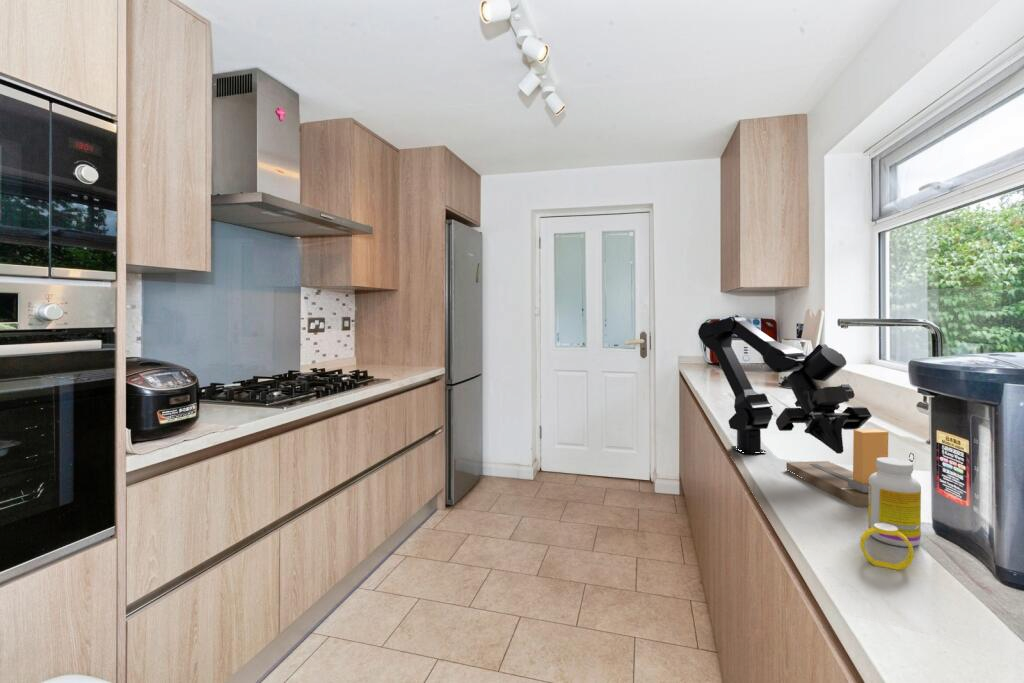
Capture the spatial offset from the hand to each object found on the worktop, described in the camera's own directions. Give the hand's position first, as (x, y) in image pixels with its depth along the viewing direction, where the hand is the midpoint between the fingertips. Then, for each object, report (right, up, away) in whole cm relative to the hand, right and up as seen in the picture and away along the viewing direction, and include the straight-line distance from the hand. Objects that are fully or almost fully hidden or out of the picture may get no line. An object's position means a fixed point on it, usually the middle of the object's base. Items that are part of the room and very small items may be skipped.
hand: (840, 452), depth 101 cm
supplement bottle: (-8, -9, -24) cm, 26 cm away
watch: (-16, -9, -32) cm, 37 cm away
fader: (+1, -5, -8) cm, 9 cm away
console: (0, -7, 0) cm, 7 cm away
